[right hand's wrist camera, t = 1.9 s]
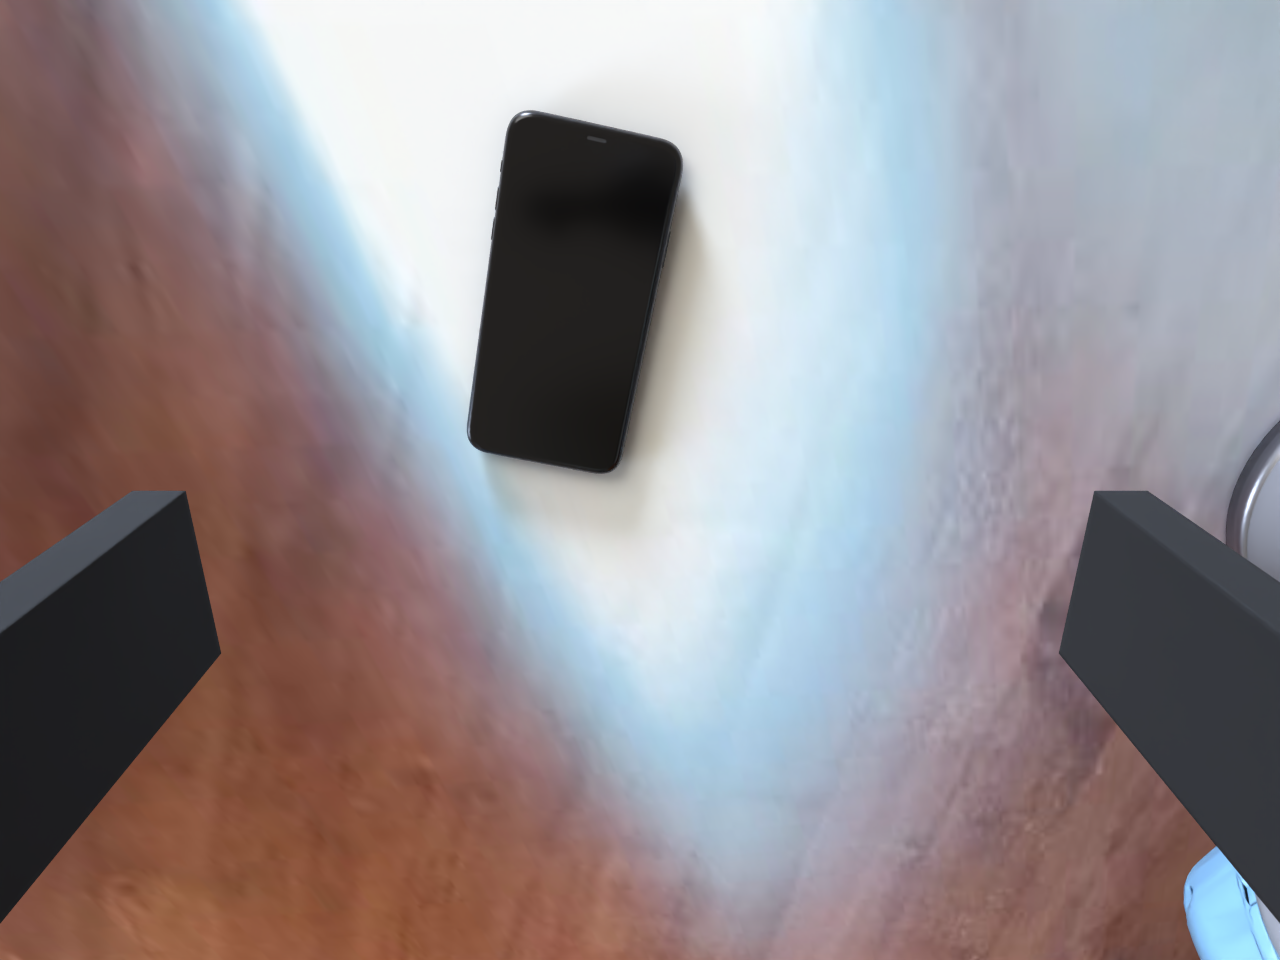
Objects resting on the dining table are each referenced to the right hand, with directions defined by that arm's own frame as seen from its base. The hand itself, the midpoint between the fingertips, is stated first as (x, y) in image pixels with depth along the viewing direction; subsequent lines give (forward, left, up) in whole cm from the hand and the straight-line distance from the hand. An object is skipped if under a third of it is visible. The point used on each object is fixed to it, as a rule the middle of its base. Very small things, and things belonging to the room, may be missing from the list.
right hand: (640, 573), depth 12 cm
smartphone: (+4, +1, -29) cm, 29 cm away
